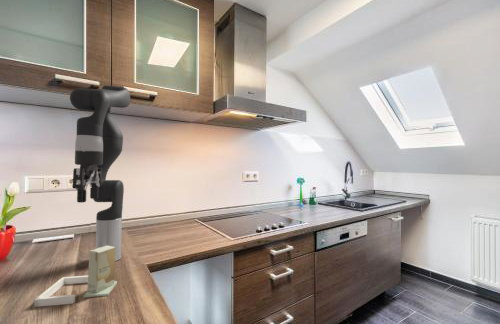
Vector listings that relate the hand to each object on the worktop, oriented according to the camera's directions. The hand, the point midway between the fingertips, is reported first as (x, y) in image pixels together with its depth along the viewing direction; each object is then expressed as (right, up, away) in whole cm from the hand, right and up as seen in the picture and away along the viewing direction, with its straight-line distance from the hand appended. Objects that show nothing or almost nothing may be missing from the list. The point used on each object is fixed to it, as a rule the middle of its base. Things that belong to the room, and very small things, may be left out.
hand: (88, 200), depth 76 cm
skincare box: (+5, -28, -1) cm, 28 cm away
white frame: (-4, -28, -3) cm, 28 cm away
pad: (+5, -28, -2) cm, 29 cm away
